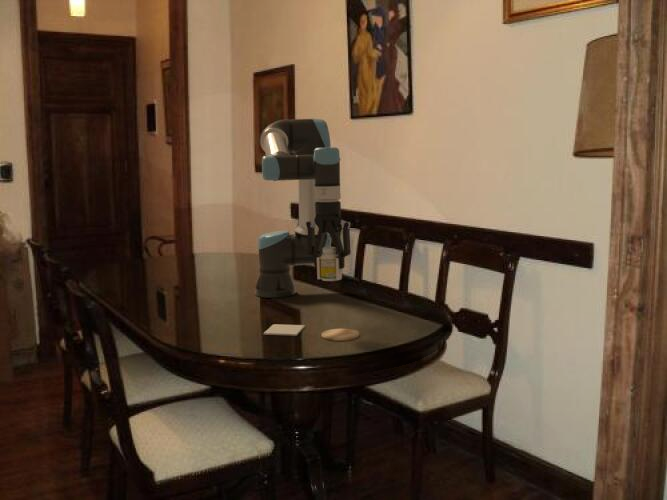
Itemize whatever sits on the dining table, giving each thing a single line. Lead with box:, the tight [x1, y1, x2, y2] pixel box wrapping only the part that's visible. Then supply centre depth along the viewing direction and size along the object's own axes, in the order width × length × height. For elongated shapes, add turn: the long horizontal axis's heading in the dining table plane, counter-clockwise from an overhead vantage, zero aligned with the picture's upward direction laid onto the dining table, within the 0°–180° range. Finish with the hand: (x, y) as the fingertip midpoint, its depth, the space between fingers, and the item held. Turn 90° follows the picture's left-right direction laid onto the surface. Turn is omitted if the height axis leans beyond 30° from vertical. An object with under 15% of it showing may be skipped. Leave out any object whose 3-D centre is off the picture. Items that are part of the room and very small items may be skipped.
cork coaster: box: [321, 328, 360, 342], centre depth 202 cm, size 11×11×1 cm
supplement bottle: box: [320, 246, 338, 282], centre depth 205 cm, size 5×5×10 cm
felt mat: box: [263, 323, 306, 337], centre depth 208 cm, size 10×10×1 cm
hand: (329, 278), depth 205 cm, fingers closed on supplement bottle, 5 cm apart
